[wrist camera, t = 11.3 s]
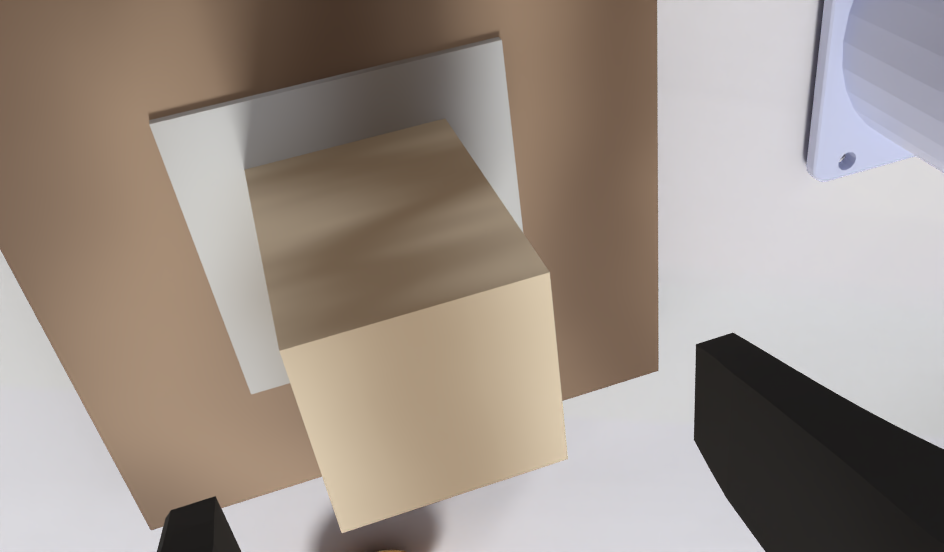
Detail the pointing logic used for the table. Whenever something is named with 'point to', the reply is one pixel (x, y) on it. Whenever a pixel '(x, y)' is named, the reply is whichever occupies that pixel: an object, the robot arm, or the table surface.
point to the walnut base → (285, 136)
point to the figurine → (391, 551)
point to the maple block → (408, 321)
